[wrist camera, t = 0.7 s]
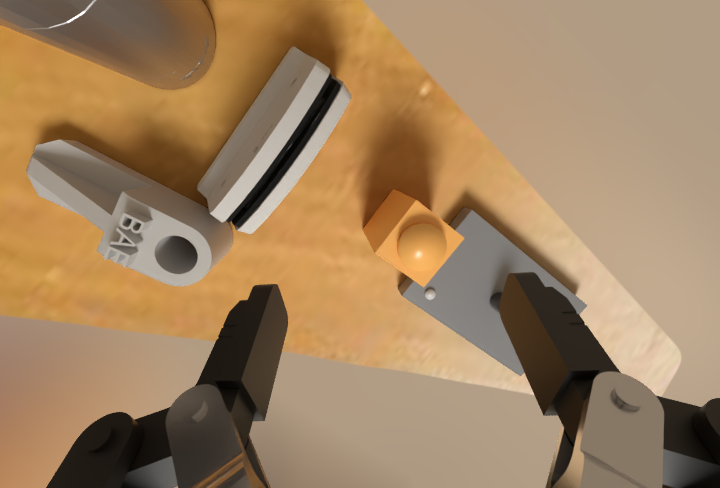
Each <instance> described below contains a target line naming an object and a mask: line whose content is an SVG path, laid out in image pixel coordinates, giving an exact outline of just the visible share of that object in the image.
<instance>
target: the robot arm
mask: <svg viewBox="0 0 720 488" xmlns="http://www.w3.org/2000/svg"><path fill="white" fill-rule="evenodd" d="M0 25H2V26H5V27H7V28H10V29H12V30H15V31H17V32H19V33H22V34H24V35H27V36H29V37H32V38H34V39H37V40H39V41H42V42H44V43H47V44H49V45H52V46H54V47H56V48H59V49H61V50H64V51H66V52H69V53H71V54H74V55H76V56H79V57H81V58H84V59H86V60H89V61H91V62H94V63H96V64H98V65H101V66H103V67H106V68H108V69H111V70H113V71H116V72H118V73H120V74H123V75H125V76H128V77H130V78H133V79H135V80H137V81H140V82H142V83H145V84H147V85H150V86H153V87H157V88H161V89H173V90H174V89H179V88H185V87H187V86H189V85H191V84H194V83H195V82H196V81H198V80H199V79H200V78H202V77H203V75H204V74H205V73H206V71H207V70H208V69H209V67H210V65H211V62H212V60H213V57H214V53H215V48H216V35H215V29H214V24H213V21H212V18H211V16H210V13H209V10H208V9H207V7H206V5H205V4H204V2H203V0H0ZM499 309H500V317H501V320H502V323H503V325H504V327H505V329H506V332H507V334H508V336H509V338H510V341H511V343H512V345H513V347H514V350H515V352H516V354H517V356H518V359H519V361H520V363H521V365H522V368H523V370H524V372H525V374H526V377H527V379H528V381H529V383H530V386H531V388H532V390H533V392H534V395H535V397H536V399H537V401H538V404H539V406H540V408H541V410H542V413H543V415H546V416H548V415H549V416H550V415H558V416H559V418H560V420H561V422H562V424H563V426H562V427H561V430H560V434H559V437H558V442H557V445H556V449H555V453H554V457H553V461H552V465H551V469H550V473H549V476H548V480H547V484H546V488H720V398H715V399H712V400H710V401H708V402H707V403H706V404H705V405H704V406H703V407H698V406H695V405H691V404H687V403H682V402H679V401H675V400H670V399H666V398H663V397H659V396H656V395H655V394H654V393H653V392H652V391H651V390H650V389H649V388H648V387H647V386H645V385H644V384H643V383H641V382H640V381H638V380H636V379H634V378H632V377H630V376H628V375H625V374H622V373H621V372H620V371H619V370H618V369H617V367H616V366H615V365H614V363H613V362H612V360H611V359H610V358H609V356H608V355H607V353H606V352H605V351H604V349H603V348H602V346H601V345H600V344H599V342H598V341H597V339H596V338H595V336H594V335H593V334H592V332H591V331H590V329H589V328H588V327H587V325H585V324H584V323H585V322H584V321H583V320H582V318H581V317H580V315H579V314H577V313H576V312H577V311H576V310H575V308H574V307H573V306H572V304H571V303H570V301H569V300H568V298H567V297H565V296H564V295H563V294H561V293H560V292H559V291H557V290H556V289H555V288H553V287H545V286H544V284H543V283H542V281H541V280H540V278H539V277H538V275H537V274H536V273H534V272H521V273H509V274H508V276H507V279H506V283H505V286H504V290H503V294H502V297H501V301H500V307H499ZM223 326H224V327H223V328H222V329H221V332H220V334H219V336H218V337H219V338H218V339H217V340H216V343H215V345H214V347H213V349H212V351H211V354H210V356H209V358H208V360H207V362H206V365H205V367H204V369H203V371H202V373H201V376H200V378H199V380H198V382H197V384H196V385H195V387H192V388H190V389H189V390H187V391H185V392H184V393H183V394H181V395H180V396H179V397H178V398H177V399H176V400H175V402H174V403H173V404H172V406H171V407H169V408H167V409H164V410H161V411H159V412H155V413H153V414H150V415H147V416H144V417H141V418H138V419H135V420H134V419H133V418H132V417H131V416H130V415H128V414H126V413H123V412H116V413H112V414H108V415H106V416H104V417H102V418H100V419H99V420H97V421H95V422H94V423H92V424H91V425H90V426H89V427H88V428H86V429H85V430H84V431H83V432H82V434H81V435H80V436H79V437H78V438H77V440H76V441H75V443H74V444H73V446H72V447H71V449H70V451H69V452H68V454H67V455H66V457H65V459H64V460H63V462H62V463H61V465H60V467H59V468H58V470H57V472H56V473H55V475H54V476H53V478H52V479H51V481H50V482H49V484H48V486H47V487H46V488H174V487H176V486H178V488H271V487H270V485H269V482H268V480H267V477H266V475H265V472H264V470H263V467H262V465H261V463H260V460H259V458H258V455H257V453H256V450H255V448H254V446H253V443H252V441H251V438H250V436H249V433H250V429H251V426H252V422H253V421H265V417H266V413H267V409H268V405H269V401H270V397H271V392H272V389H273V384H274V380H275V376H276V372H277V368H278V364H279V360H280V356H281V352H282V348H283V344H284V340H285V336H286V332H287V327H288V315H287V311H286V308H285V305H284V302H283V299H282V296H281V293H280V290H279V287H278V285H277V284H267V285H255V286H254V287H253V289H252V291H251V293H250V296H249V298H248V300H242V301H239V302H238V304H237V305H236V306H235V307H234V308H233V309H232V310H231V311H230V312H229V314H228V316H227V318H226V321H225V323H224V325H223Z"/></svg>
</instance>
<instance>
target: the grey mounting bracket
mask: <svg viewBox="0 0 720 488" xmlns="http://www.w3.org/2000/svg"><path fill="white" fill-rule="evenodd" d="M26 171H27V175H28V177H29V179H30V181H31V182H32V184H33V186H34V188H35V190H36V192H37V194H38V196H41V197H43V198H45V199H47V200H49V201H51V202H54V203H56V204H58V205H60V206H62V207H64V208H66V209H69V210H71V211H73V212H75V213H77V214H79V215H82V216H84V217H85V218H86V219H88V220H89V221H90V222H92V223H93V224H94V225H96V226H97V227H98V228H100V229H101V230H102V231H103V232H104V235H103V237H102V239H101V242H100V244H99V246H98V249H97V251H98V252H99V253H100V254H102V255H103V256H104V259H105V260H107V259H111V260H113V261H114V263H120V264H122V265H123V266H122V267H124V268H125V267H129V268H131V269H133V270H136V271H138V272H140V273H142V274H145V275H147V276H149V277H151V278H154V279H156V280H158V281H160V282H163V283H165V284H168V285H172V286H187V285H191V284H194V283H196V282H198V281H199V280H201V279H202V278H203V277H204V276H205V275H206V274H207V273H208V272H209V271H210V270H211V269H212V268H213V267H214V266H215V265H216V264H217V263H218V262H219V261H220V260H221V259H222V258H223V257H224V256H225V255H226V254H227V253H228V252H229V251H230V249H231V247H232V244H233V232H232V229H231V226H230V225H229V223H228V222H227V221H224V222H223V223H222V222H220V221H219V220H218V219H216V218H215V217H214V216H212V215H211V214H210V212H209V209H208V208H206V207H205V206H203V205H201V204H199V203H197V202H195V201H193V200H191V199H189V198H187V197H185V196H183V195H181V194H179V193H177V192H175V191H173V190H171V189H169V188H168V187H166V186H164V185H162V184H160V183H158V182H156V181H154V180H152V179H150V178H148V177H146V176H144V175H142V174H140V173H138V172H136V171H134V170H132V169H131V168H129V167H127V166H125V165H123V164H121V163H119V162H117V161H115V160H113V159H111V158H109V157H107V156H105V155H103V154H101V153H99V152H97V151H95V150H94V149H92V148H90V147H88V146H86V145H84V144H82V143H80V142H78V141H76V140H61V139H60V140H56V141H52V142H48V143H44V144H40V145H36V148H35V151H34V153H33V154H32V156H31V158H30V161H29V164H28V167H27V170H26ZM190 242H191V243H192V244H193V245H194V246H193V245H192V244H191V243H190Z"/></svg>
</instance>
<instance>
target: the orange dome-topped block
mask: <svg viewBox="0 0 720 488" xmlns="http://www.w3.org/2000/svg"><path fill="white" fill-rule="evenodd" d="M363 231H364V233H365V235H366V237H367V239H368V241H369V243H370V245H371V247H372V249H373V251H374V253H375V254H377V255H378V256H380V257H381V258H382V259H384V260H385V261H387V262H388V263H390V264H391V265H392V266H394V267H395V268H397V269H398V270H399V271H401V272H402V273H404V274H405V275H407V276H408V277H409V278H411V279H412V280H414V281H415V282H417V283H418V284H419V285H421V286H422V287H425V286H426V285H427V283H428V282H429V281H430V280H431V278H432V277H433V276H434V275H435V274H436V272H437V271H438V270H439V269H440V268H441V266H442V265H443V264H444V263H445V262H446V260H447V259H448V258H449V257H450V256H451V254H452V253H453V252H454V251H455V250H456V248H457V247H458V246H459V245H460V243H461V242H462V241H463V240H464V239H465V238H464V237H463V236H461V235H460V234H459V233H458V232H456V231H455V230H454V229H453V228H451V227H450V226H449V225H448V224H446V223H445V222H444V221H443V220H441V219H440V218H439V217H437V216H436V215H435V214H434V213H432V212H431V211H430V210H429V209H427V208H426V207H425V206H424V205H422V204H421V203H420V202H419V201H417V200H416V199H414V198H412V197H409V196H407V195H405V194H403V193H401V192H399V191H397V190H395V189H393V190H392V191H391V192H390V194H389V195H388V196H387V198H386V199H385V200H384V202H383V203H382V204H381V206H380V207H379V208H378V210H377V211H376V212H375V214H374V215H373V216H372V217H371V219H370V220H369V221H368V223H367V224H366V225H365V227H364V228H363Z"/></svg>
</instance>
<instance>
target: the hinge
mask: <svg viewBox="0 0 720 488" xmlns="http://www.w3.org/2000/svg"><path fill="white" fill-rule="evenodd" d="M350 99H351V94H350V92H349V91H348V89H347V88H346V86H345V85H344V83H343V82H342V81H341V80H339V79H337V78H335V77H334V76H332V75H331V74H330V69H329V68H328V67H327V66H325V65H324V64H323V63H321V62H320V61H318V60H317V59H315V58H313V57H311V56H309V55H307V54H305V53H304V52H302V51H301V50H299V49H298V48H296V47H295V46H293V47H291V48H290V49H289V51H288V52H287V54H286V55H285V57H284V58H283V60H282V61H281V63H280V64H279V66H278V67H277V68H276V70H275V71H274V73H273V74H272V76H271V77H270V79H269V80H268V82H267V83H266V85H265V86H264V88H263V89H262V91H261V92H260V94H259V95H258V96H257V98H256V99H255V101H254V102H253V104H252V105H251V107H250V108H249V110H248V111H247V113H246V114H245V116H244V117H243V119H242V120H241V121H240V123H239V124H238V126H237V127H236V129H235V130H234V132H233V133H232V135H231V136H230V138H229V139H228V141H227V142H226V144H225V145H224V147H223V148H222V149H221V151H220V152H219V154H218V155H217V157H216V158H215V160H214V161H213V163H212V164H211V166H210V167H209V169H208V170H207V172H206V173H205V174H204V176H203V177H202V179H201V180H200V182H199V183H198V186H197V190H198V191H199V192H200V193H201V194H202V195H203V196H204V197H205V198H206V199H207V201H208V207H209V212H210V214H211V215H212V216H214V217H215V218H216V219H218V220H219V221H220V222H222V223H223V222H224V221H227V222H230V221H231V220H232V223H233V225H234V226H235V229H236V230H238V231H241V232H245V233H248V234H252V233H253V232H254V231H255V230H256V229H257V228H258V227H259V226H260V225H261V224H262V223H263V222H264V221H265V220H266V219H267V218H268V217H269V215H270V214H271V213H272V212H273V211H274V210H275V209H276V207H277V206H278V205H279V204H280V203H281V201H282V200H283V199H284V198H285V197H286V196H287V194H288V193H289V192H290V190H291V189H292V188H293V187H294V185H295V184H296V183H297V181H298V180H299V179H300V177H301V176H302V175H303V173H304V172H305V171H306V169H307V168H308V167H309V165H310V164H311V162H312V161H313V160H314V158H315V157H316V155H317V154H318V152H319V151H320V149H321V148H322V146H323V145H324V143H325V142H326V140H327V139H328V137H329V135H330V134H331V132H332V131H333V129H334V128H335V126H336V124H337V123H338V121H339V119H340V117H341V116H342V114H343V112H344V111H345V109H346V107H347V105H348V103H349V102H350Z"/></svg>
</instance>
